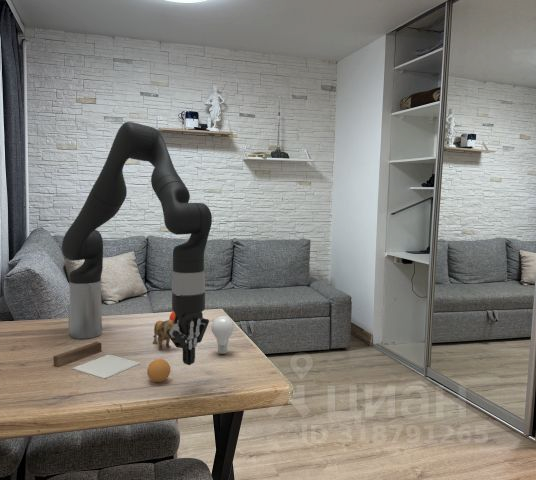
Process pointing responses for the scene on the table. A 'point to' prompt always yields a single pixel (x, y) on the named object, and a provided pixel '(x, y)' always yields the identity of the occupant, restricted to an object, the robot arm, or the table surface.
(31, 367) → the table surface
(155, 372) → the ball
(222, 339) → the lightbulb
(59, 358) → the strip
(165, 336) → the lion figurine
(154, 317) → the table surface
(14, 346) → the table surface
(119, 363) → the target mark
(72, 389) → the table surface
